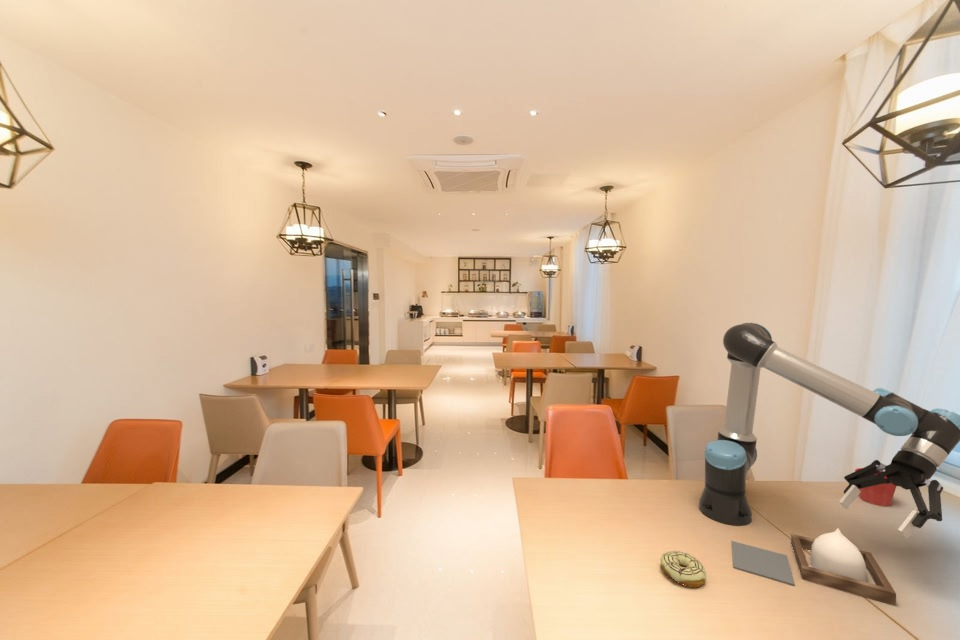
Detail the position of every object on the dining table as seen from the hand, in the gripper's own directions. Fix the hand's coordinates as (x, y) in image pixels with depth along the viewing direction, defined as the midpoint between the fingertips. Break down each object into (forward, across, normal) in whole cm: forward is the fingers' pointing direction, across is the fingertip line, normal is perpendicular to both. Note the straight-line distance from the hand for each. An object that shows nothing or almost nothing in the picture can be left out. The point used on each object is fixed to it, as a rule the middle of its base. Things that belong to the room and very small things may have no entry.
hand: (870, 518), depth 101 cm
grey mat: (+28, +7, +9) cm, 30 cm away
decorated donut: (+45, +6, +26) cm, 53 cm away
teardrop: (+17, +1, -3) cm, 17 cm away
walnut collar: (+16, +1, -3) cm, 17 cm away
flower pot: (-19, +28, -39) cm, 52 cm away
